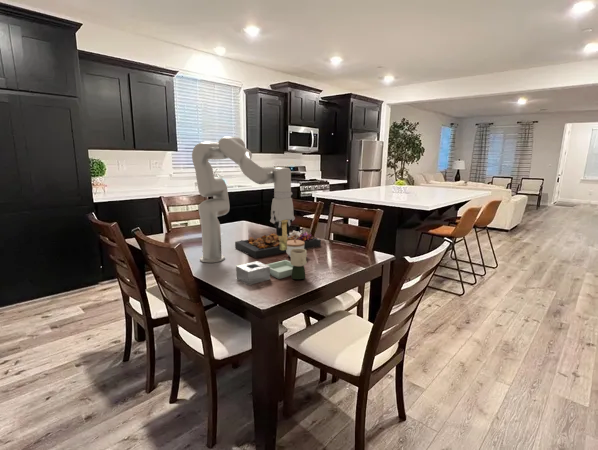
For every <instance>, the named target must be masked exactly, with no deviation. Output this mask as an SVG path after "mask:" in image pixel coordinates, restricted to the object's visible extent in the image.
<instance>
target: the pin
mask: <svg viewBox="0 0 598 450" xmlns="http://www.w3.org/2000/svg"><path fill="white" fill-rule="evenodd" d="M287 222H288V220H282V221H281V228H282V236H279V246H280V250H287Z"/></svg>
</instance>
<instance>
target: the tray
mask: <svg viewBox="0 0 598 450" xmlns="http://www.w3.org/2000/svg"><path fill="white" fill-rule="evenodd" d="M265 265H268V266H270V276H271V277H274V278H277V279H278V280H280V279H283V278H288V277H290V276H291V277H292V269H293V265H291V260H288V259H283V260H280V261H276V262H270V263H267V264H265Z"/></svg>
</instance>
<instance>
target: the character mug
mask: <svg viewBox="0 0 598 450" xmlns="http://www.w3.org/2000/svg"><path fill="white" fill-rule="evenodd" d="M307 254H308V251H307V249H292V250H291V257H290V262H291V265H293V269H292V275H291V278H292V279H293V280H304V279H306V271H305V266H306V265H307V263H308V262H307V256H308V255H307Z"/></svg>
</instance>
